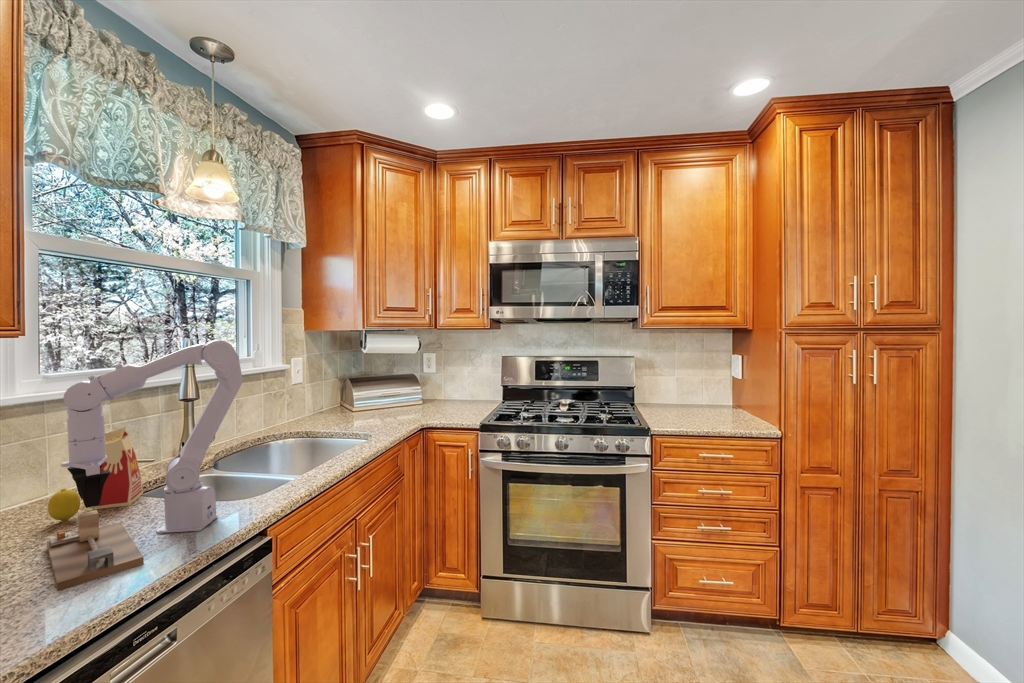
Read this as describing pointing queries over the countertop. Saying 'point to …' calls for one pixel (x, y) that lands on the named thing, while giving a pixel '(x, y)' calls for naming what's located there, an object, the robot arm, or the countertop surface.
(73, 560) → the keeper board
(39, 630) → the countertop surface
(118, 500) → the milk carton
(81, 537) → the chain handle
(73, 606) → the countertop surface
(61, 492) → the lemon
